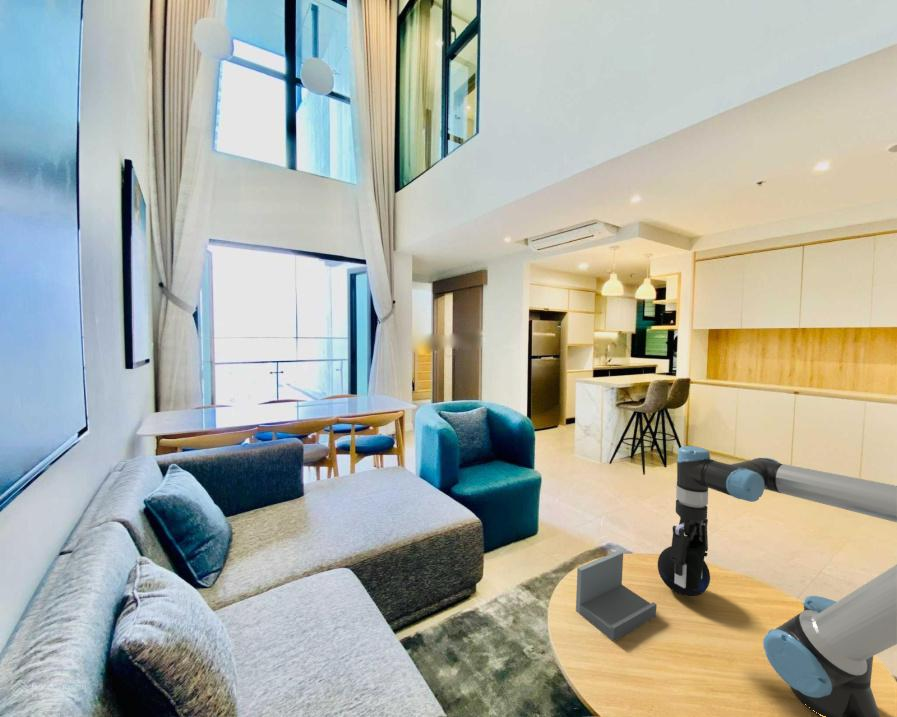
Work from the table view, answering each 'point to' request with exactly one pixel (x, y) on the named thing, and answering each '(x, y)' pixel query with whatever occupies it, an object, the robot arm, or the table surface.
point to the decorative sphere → (668, 575)
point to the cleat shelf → (610, 598)
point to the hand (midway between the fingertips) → (688, 580)
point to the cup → (694, 564)
